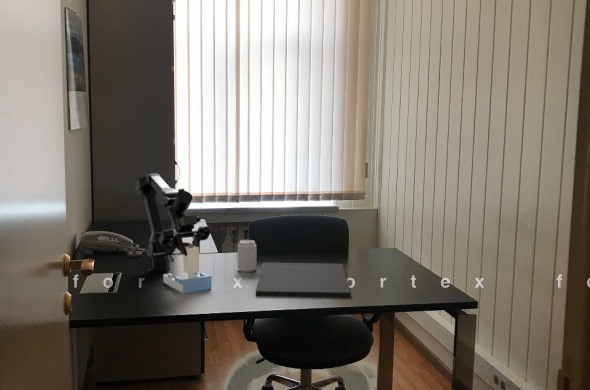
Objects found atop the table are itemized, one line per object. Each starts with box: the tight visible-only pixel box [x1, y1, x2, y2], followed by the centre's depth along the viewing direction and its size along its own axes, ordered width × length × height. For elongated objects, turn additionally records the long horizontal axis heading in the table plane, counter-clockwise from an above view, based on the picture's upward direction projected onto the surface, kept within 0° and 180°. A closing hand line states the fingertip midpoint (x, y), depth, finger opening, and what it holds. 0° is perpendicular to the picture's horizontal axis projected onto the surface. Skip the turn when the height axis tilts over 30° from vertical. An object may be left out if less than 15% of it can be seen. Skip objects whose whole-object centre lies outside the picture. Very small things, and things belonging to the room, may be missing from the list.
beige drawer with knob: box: [182, 243, 200, 274], centre depth 226 cm, size 4×4×10 cm
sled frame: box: [162, 272, 213, 295], centre depth 230 cm, size 18×11×5 cm, turn 35°
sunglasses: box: [168, 241, 192, 262], centre depth 275 cm, size 14×16×5 cm
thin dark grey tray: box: [255, 262, 351, 299], centre depth 239 cm, size 40×2×33 cm
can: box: [237, 239, 257, 273], centre depth 253 cm, size 8×8×12 cm
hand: (192, 254), depth 225 cm, fingers closed on beige drawer with knob, 4 cm apart
